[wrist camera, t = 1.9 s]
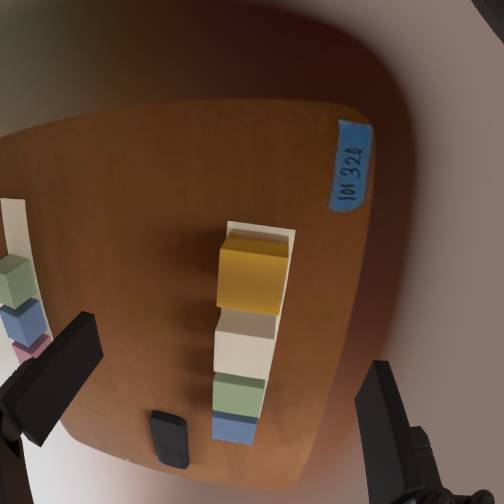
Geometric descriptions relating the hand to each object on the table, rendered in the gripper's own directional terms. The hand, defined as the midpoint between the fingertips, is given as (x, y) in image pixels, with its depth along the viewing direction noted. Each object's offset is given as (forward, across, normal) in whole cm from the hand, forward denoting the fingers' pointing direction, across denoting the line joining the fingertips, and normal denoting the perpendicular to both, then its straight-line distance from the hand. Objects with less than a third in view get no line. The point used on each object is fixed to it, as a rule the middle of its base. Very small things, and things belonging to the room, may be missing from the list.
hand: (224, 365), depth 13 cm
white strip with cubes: (+12, 0, -9) cm, 15 cm away
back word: (+12, -28, -9) cm, 32 cm away
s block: (+12, 0, 0) cm, 12 cm away
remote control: (+13, -9, -31) cm, 35 cm away
